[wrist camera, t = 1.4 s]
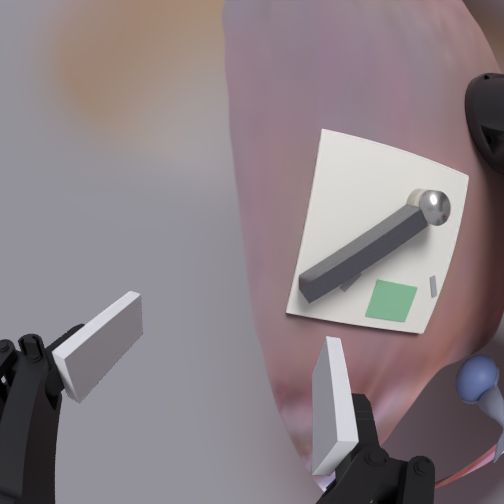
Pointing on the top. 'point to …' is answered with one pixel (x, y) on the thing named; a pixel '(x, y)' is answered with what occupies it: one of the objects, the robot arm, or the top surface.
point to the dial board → (366, 217)
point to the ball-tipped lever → (376, 243)
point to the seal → (482, 390)
